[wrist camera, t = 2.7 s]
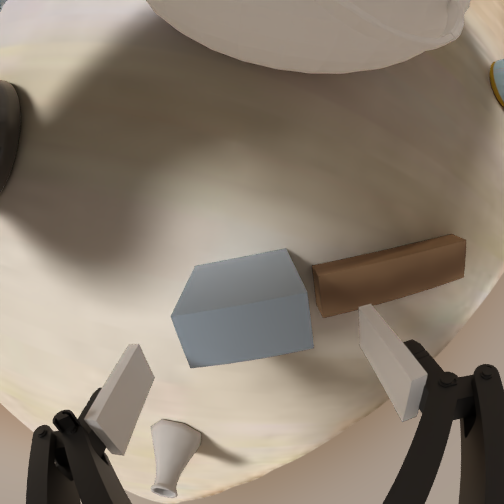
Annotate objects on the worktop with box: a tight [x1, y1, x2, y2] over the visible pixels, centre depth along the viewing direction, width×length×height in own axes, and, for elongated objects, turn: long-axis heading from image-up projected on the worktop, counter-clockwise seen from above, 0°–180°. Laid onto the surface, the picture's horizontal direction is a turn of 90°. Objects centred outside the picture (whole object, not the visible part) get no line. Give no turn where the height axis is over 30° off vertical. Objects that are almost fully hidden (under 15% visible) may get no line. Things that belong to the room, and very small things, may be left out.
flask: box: [151, 419, 201, 498], centre depth 27 cm, size 7×7×10 cm
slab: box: [171, 248, 314, 368], centre depth 21 cm, size 4×8×9 cm, turn 101°
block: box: [312, 234, 466, 318], centre depth 24 cm, size 4×16×2 cm, turn 101°
